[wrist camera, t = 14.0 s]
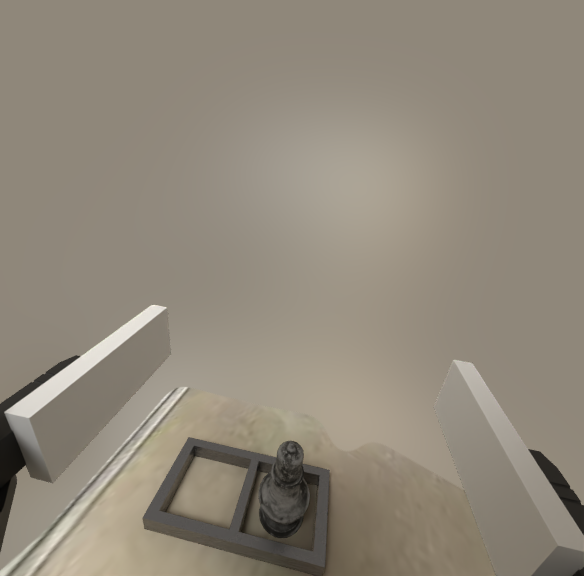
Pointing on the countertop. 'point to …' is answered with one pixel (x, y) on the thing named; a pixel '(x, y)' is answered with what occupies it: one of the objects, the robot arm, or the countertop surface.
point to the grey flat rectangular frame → (240, 510)
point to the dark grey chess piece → (284, 492)
